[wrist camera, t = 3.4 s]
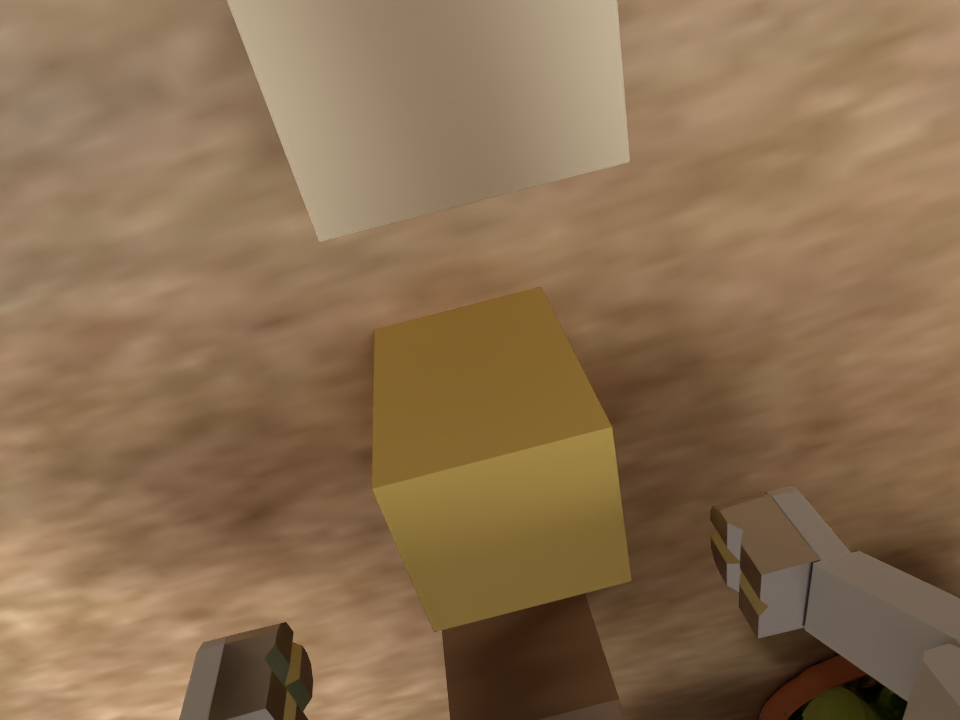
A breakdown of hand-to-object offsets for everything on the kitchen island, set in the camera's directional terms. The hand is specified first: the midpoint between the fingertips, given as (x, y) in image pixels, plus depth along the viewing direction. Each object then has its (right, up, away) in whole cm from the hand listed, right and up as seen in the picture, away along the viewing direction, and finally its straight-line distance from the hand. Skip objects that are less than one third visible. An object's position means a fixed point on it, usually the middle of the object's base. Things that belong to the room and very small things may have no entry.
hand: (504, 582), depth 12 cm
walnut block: (+1, -4, +11) cm, 12 cm away
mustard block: (-1, +4, +6) cm, 7 cm away
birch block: (-2, +11, +1) cm, 12 cm away
